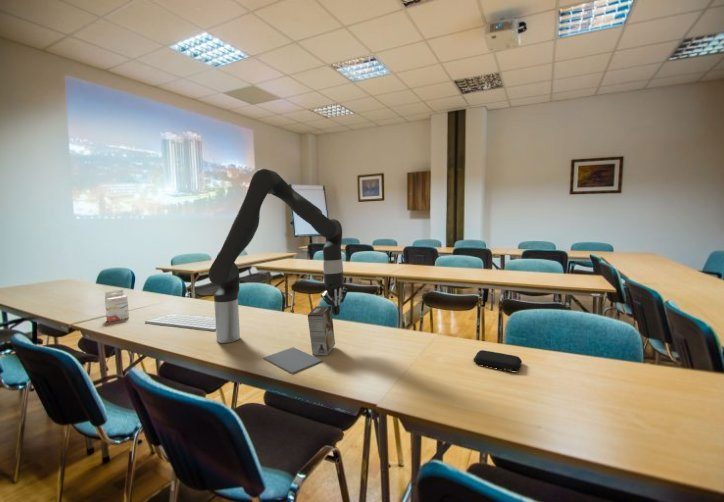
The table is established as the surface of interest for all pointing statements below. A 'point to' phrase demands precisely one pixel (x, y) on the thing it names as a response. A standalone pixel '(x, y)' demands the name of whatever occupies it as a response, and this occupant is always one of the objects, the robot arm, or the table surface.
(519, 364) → the carrying case or bag
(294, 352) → the dark rubber mat
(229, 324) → the robot arm
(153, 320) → the computer keyboard
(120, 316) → the ink cartridge box
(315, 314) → the coffee box
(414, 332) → the table surface
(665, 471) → the table surface
